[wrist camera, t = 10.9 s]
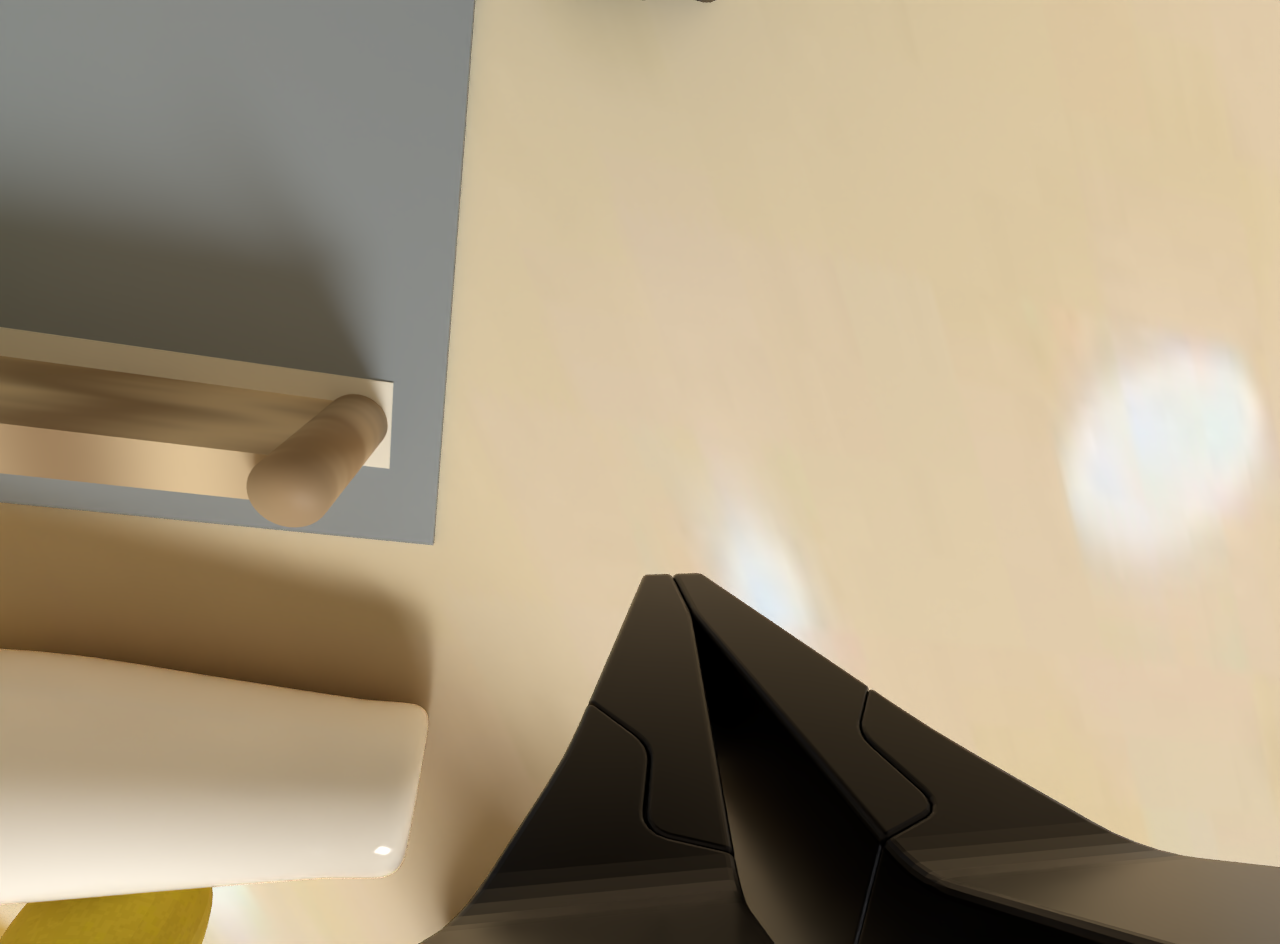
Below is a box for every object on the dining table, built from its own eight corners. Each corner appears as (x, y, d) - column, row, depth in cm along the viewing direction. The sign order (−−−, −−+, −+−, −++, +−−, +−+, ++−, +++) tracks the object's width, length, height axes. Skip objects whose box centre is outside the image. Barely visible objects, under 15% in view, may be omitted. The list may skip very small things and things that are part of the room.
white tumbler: (442, 648, 24) (-37, 602, 20) (421, 774, 18) (-280, 742, 14) (415, 795, 26) (-36, 778, 22) (387, 960, 19) (-255, 977, 16)
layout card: (-652, -511, 11) (-677, -526, 11) (487, -171, 15) (486, -177, 15) (-298, 469, 18) (-309, 472, 18) (434, 542, 21) (432, 545, 21)
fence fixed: (-162, 393, 18) (-475, 469, 12) (-186, 305, 17) (-532, 347, 11) (387, 459, 20) (327, 546, 15) (391, 387, 19) (329, 451, 14)
